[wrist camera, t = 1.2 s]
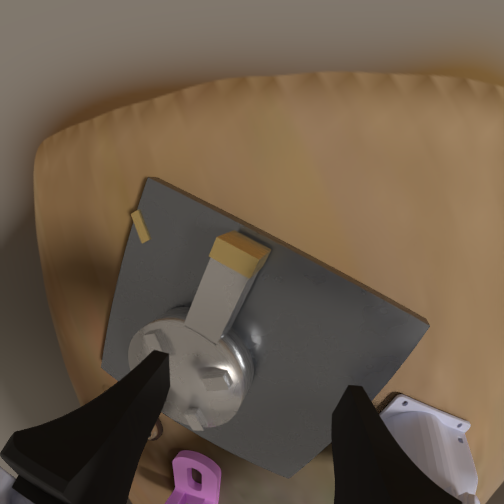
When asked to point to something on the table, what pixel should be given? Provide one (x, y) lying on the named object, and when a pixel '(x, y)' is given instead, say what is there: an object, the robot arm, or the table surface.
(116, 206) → the table surface
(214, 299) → the silver disc with handle
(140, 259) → the plate
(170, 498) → the bracket
